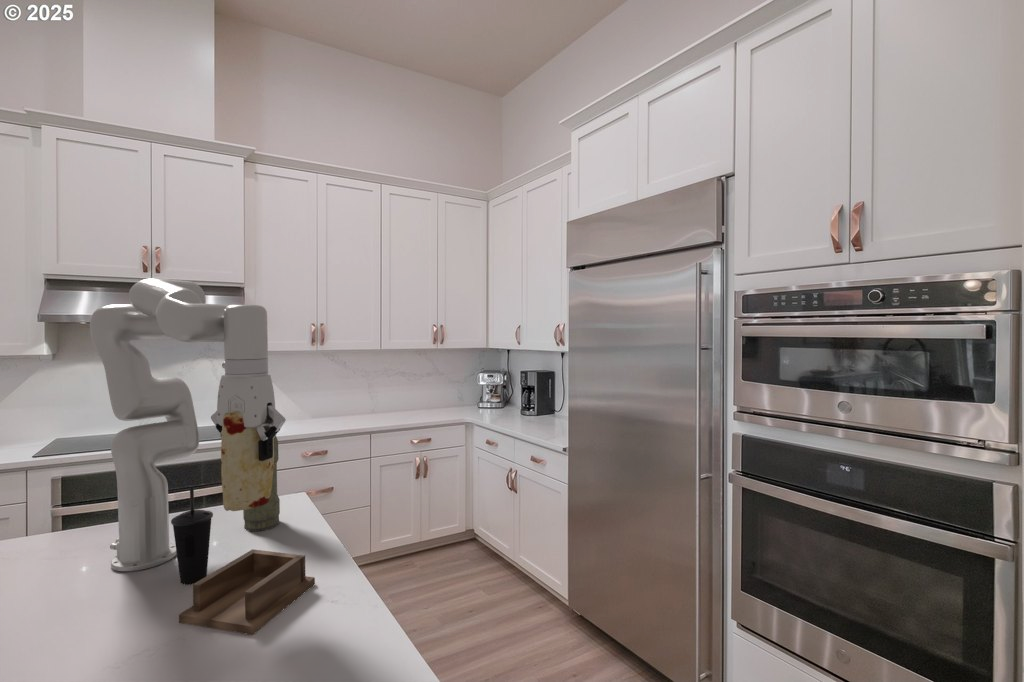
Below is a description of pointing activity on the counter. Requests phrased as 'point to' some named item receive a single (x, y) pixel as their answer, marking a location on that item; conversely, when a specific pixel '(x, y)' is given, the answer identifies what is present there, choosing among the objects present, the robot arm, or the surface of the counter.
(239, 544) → the counter surface
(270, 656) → the counter surface
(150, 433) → the robot arm
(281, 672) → the counter surface
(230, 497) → the food model
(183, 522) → the drinking cup
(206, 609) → the dock
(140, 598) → the counter surface
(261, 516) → the thermos
